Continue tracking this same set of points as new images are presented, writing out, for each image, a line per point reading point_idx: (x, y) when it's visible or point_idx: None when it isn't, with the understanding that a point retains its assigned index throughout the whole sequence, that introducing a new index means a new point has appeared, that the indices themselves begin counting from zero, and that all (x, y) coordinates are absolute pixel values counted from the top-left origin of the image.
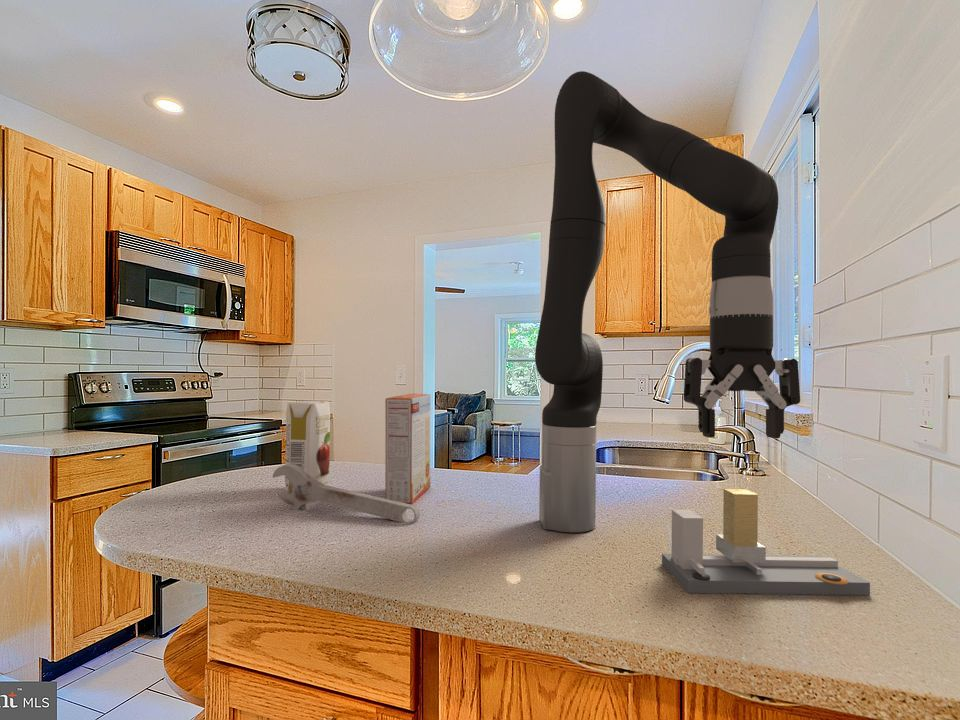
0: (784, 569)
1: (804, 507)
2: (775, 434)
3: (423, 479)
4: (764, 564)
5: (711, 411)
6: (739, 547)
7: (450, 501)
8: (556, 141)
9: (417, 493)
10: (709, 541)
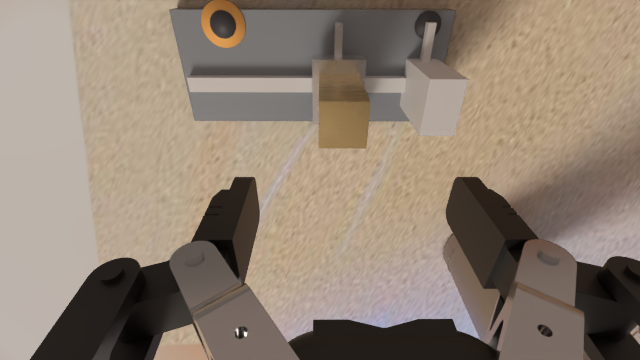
0: (278, 62)
1: None
2: (251, 179)
3: None
4: (302, 76)
5: (514, 234)
6: (357, 59)
7: None
8: None
9: (638, 326)
10: (314, 199)
